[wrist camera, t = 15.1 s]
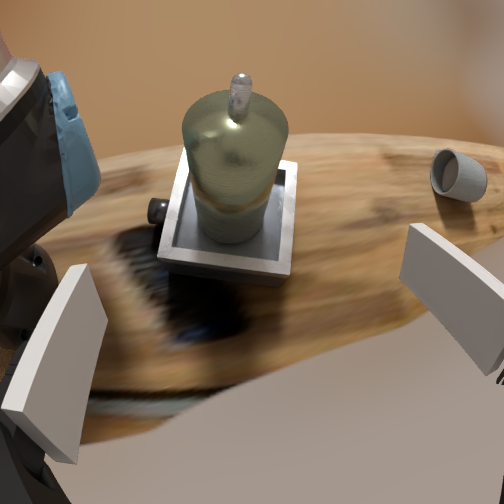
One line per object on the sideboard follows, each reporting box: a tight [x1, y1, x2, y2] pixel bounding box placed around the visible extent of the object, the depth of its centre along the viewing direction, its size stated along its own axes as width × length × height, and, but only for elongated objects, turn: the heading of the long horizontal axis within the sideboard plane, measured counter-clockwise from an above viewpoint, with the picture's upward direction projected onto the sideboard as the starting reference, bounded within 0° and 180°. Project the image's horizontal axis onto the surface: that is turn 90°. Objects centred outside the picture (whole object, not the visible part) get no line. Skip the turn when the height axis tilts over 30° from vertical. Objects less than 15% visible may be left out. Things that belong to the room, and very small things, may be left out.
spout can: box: [182, 73, 288, 244], centre depth 24 cm, size 7×7×16 cm
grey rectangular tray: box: [147, 148, 297, 288], centre depth 34 cm, size 16×13×6 cm
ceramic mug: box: [430, 148, 487, 202], centre depth 39 cm, size 11×8×8 cm
